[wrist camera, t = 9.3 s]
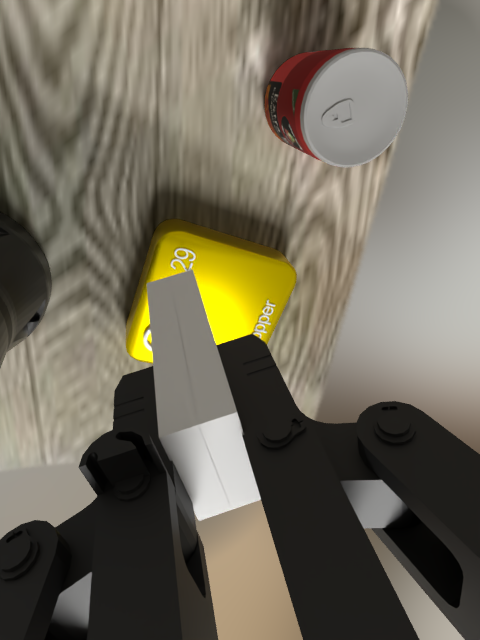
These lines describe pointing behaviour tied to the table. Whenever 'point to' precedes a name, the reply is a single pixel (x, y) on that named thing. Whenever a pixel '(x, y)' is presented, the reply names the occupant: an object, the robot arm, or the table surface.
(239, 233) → the table surface
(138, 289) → the element tile
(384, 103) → the canned food
